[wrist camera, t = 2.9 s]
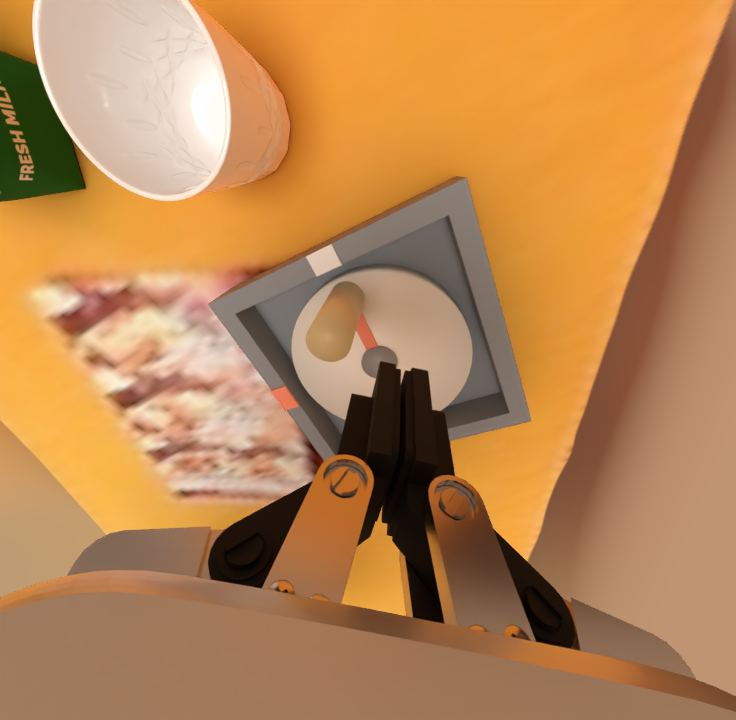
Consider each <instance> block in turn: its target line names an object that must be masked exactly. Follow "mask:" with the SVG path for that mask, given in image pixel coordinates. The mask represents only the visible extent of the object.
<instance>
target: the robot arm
mask: <svg viewBox="0 0 736 720" xmlns="http://www.w3.org/2000/svg"><path fill="white" fill-rule="evenodd" d="M381 508H382V523H387V535H389V536H393V539H392V541H393V542H394V543H395V545H396V546H397V547H398V549H399V550H400V558H399V560H400V568H401V577H402V585H403V594H404V602H405V610H406V616H402V615H397V614H392V613H387V612H381V611H376V610H371V609H366V608H361V607H356V606H350V605H345V604H341V602H342V598H343V594H344V591H345V587H346V584H347V580H348V576H349V573H350V569H351V565H352V562H353V558H354V555H355V551H356V547H357V546H358V545H359V544H361V543H362V542H363V541H365V540H366V539H367V538H369V537H370V535H371V533H372V530H373V527H374V524H375V521H377V519H378V517H379V514H380V511H381ZM0 720H736V696H734V695H732V694H730V693H728V692H725V691H723V690H721V689H719V688H717V687H714V686H712V685H709V684H706V683H704V682H701V681H699V680H696V678H695V677H694V675H693V673H692V671H691V669H690V668H689V666H688V665H687V664H686V662H685V661H684V660H683V659H682V657H681V656H680V655H679V654H678V653H677V652H676V651H675V650H674V649H673V648H672V647H671V646H670V645H669V644H668V643H667V642H665V641H663V640H662V639H660V638H658V637H657V636H655V635H654V634H652V633H649V632H647V631H644V630H642V629H640V628H638V627H636V626H633V625H631V624H629V623H627V622H624V621H622V620H620V619H617V618H616V617H613V616H611V615H609V614H607V613H604V612H602V611H600V610H598V609H595V608H593V607H591V606H589V605H586V604H584V603H582V602H580V601H577V600H575V599H573V598H570V599H568V600H565V599H563V598H562V597H561V596H560V595H559V593H558V592H557V591H556V590H555V589H554V588H553V587H552V586H551V585H550V584H549V583H548V582H547V581H546V580H545V579H544V578H543V577H542V576H541V575H540V574H539V573H538V572H537V571H536V570H535V569H534V568H533V567H532V566H531V565H530V564H529V563H528V562H527V561H526V560H525V559H524V558H523V557H522V556H521V555H520V554H519V553H518V552H517V551H516V550H515V549H513V548H512V547H511V546H510V545H509V544H508V543H507V542H506V541H505V540H504V539H503V538H502V537H501V536H500V535H499V534H498V533H497V532H496V531H495V530H494V529H493V526H492V524H491V521H490V518H489V516H488V513H487V511H486V508H485V505H484V503H483V500H482V498H481V497H480V495H479V493H478V492H477V491H476V489H475V488H474V487H473V486H472V485H470V484H469V483H468V482H466V481H465V480H463V479H461V478H459V477H456V476H455V473H454V466H453V460H452V454H451V448H450V441H449V435H448V429H447V422H446V416H445V413H444V412H442V411H437V410H432V401H431V392H430V383H429V373H428V371H427V370H423V369H418V368H413V367H412V368H411V371H407V370H405V372H404V375H403V379H402V382H401V369H397V368H396V364H393V363H388V362H383V361H380V364H379V368H378V372H377V376H376V381H375V385H374V389H373V393H372V397H368V396H363V395H358V394H353V393H352V394H351V398H350V402H349V407H348V411H347V415H346V420H345V424H344V428H343V432H342V437H341V441H340V445H339V450H338V454H337V455H336V456H333V457H330V458H329V459H327V460H326V461H324V462H323V464H322V465H321V466H320V468H319V469H318V472H317V474H316V476H315V478H314V480H313V481H312V482H310V483H308V484H306V485H305V486H303V487H301V488H299V489H297V490H295V491H293V492H292V493H290V494H288V495H286V496H284V497H282V498H281V499H279V500H277V501H275V502H273V503H271V504H269V505H268V506H266V507H264V508H262V509H260V510H258V511H256V512H255V513H253V514H251V515H249V516H247V517H245V518H244V519H242V520H240V521H238V522H236V523H234V524H233V525H231V526H230V527H228V528H227V529H226V530H211V528H210V527H191V528H169V529H147V530H125V531H119V532H114V533H110V534H108V535H106V536H104V537H102V538H100V539H98V540H96V541H95V542H94V543H93V544H91V545H90V546H89V547H88V548H86V549H85V550H84V551H83V552H82V554H81V555H80V556H79V557H78V559H77V560H76V561H75V563H74V564H73V566H72V568H71V570H70V571H69V573H68V575H67V576H64V577H60V578H57V579H53V580H49V581H45V582H41V583H38V584H35V585H32V586H29V587H26V588H23V589H20V590H17V591H14V592H12V593H10V594H8V595H5V596H3V597H0Z"/></svg>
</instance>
